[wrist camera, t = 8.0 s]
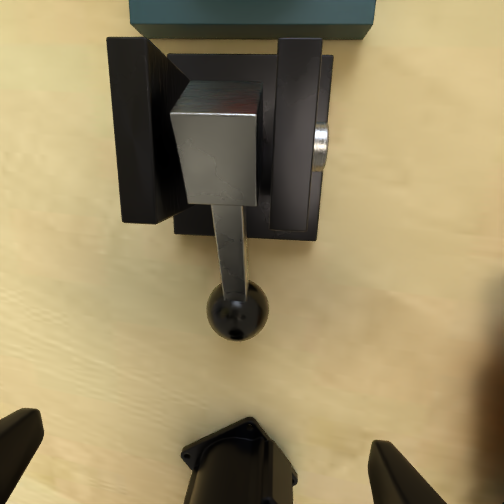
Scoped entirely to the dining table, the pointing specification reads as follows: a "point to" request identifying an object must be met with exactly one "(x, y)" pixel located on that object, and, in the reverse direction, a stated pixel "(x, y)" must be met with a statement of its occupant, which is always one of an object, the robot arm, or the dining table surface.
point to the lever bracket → (274, 133)
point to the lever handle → (225, 189)
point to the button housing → (252, 18)
